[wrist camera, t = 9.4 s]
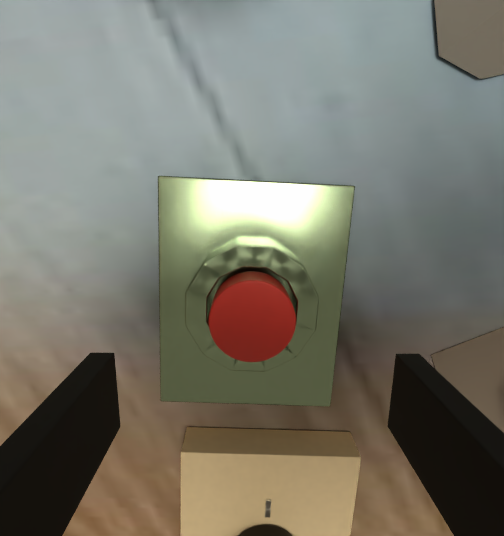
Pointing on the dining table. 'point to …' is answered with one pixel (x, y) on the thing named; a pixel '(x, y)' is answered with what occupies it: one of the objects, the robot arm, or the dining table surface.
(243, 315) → the button
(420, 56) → the dining table surface
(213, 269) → the button housing
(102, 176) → the dining table surface
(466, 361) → the platform
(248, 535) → the dial
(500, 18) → the flask
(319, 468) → the timer panel
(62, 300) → the dining table surface
